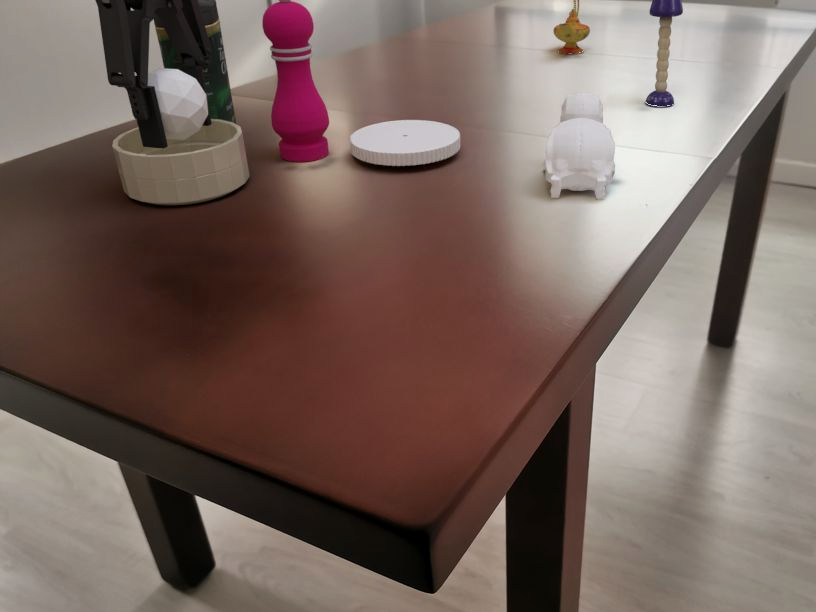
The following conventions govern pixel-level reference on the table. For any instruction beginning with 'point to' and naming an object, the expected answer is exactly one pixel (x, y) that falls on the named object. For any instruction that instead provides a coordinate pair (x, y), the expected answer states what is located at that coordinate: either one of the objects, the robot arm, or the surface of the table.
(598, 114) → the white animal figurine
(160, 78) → the geometric ball
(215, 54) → the coffee jar
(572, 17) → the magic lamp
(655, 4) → the toy lamp
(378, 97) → the table surface
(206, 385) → the table surface
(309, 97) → the pepper mill
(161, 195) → the bowl
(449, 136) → the plastic lid
